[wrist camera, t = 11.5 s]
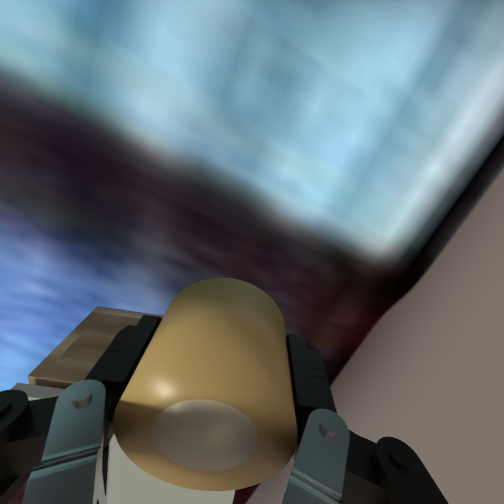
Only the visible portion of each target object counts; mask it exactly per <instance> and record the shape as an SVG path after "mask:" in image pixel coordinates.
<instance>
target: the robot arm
mask: <svg viewBox="0 0 504 504" xmlns="http://www.w3.org/2000/svg"><path fill="white" fill-rule="evenodd" d="M161 321H162V318H161V317H159V316H151V315H143V316H142V317H141V319H140V321H139V322H138V324H137V325H136V326H134V325H128V326H127V327H125V328H124V329H122V330H121V331H119V332H118V333H117V335H116V336H115V338H114V339H113V340H112V343H110V344H109V346H108V347H107V349H106V351H104V353H103V354H102V356H101V357H100V358H99V360H98V361H97V363H96V364H95V365H94V367H93V368H92V369H91V371H90V372H89V374H88V375H87V376H86V378H85V379H84V380H83V381H79V382H76V383H74V384H72V385H71V386H69V387H68V388H66V389H65V390H64V391H63V392H62V393H61V394H60V395H59V396H55V397H50V398H43V399H37V400H30V401H29V400H28V396H27V394H26V393H25V392H24V391H21V390H15V389H12V390H5V391H1V392H0V504H7V503H8V502H9V501H10V500H11V499H12V497H13V496H14V495H15V494H16V493H17V492H18V490H19V489H20V488H21V487H22V486H23V485H24V483H25V482H26V481H27V480H28V479H29V480H28V484H27V488H26V491H25V495H24V498H23V502H22V504H107V499H108V482H109V464H110V447H111V443H110V441H111V439H112V437H113V435H114V429H113V416H114V412H115V409H116V406H117V404H118V402H119V400H120V398H121V396H122V394H123V392H124V390H125V389H126V387H127V385H128V383H129V381H130V379H131V377H132V375H133V373H134V372H135V370H136V368H137V366H138V364H139V362H140V360H141V358H142V356H143V355H144V353H145V351H146V349H147V347H148V345H149V343H150V341H151V339H152V338H153V336H154V334H155V332H156V330H157V328H158V326H159V324H160V322H161ZM286 343H287V351H288V359H289V367H290V375H291V383H292V391H293V399H294V407H295V416H296V424H297V432H298V437H297V445H296V449H295V451H294V459H295V462H294V465H293V469H292V472H291V475H290V478H289V482H288V485H287V488H286V491H285V494H284V498H283V501H282V504H448V502H447V500H446V499H445V498H444V496H443V494H442V493H441V491H440V490H439V488H438V487H437V485H436V483H435V482H434V480H433V479H432V477H431V476H430V474H429V472H428V471H427V469H426V468H425V466H424V465H423V463H422V462H421V460H420V459H419V457H418V455H417V454H416V453H415V452H414V451H413V449H411V448H410V447H409V446H408V445H407V444H405V443H404V442H402V441H401V440H399V439H396V438H393V437H383V438H381V439H380V440H379V441H378V442H377V443H374V442H372V441H370V440H368V439H365V438H363V437H361V436H359V435H357V434H355V433H353V432H352V431H350V430H349V429H348V426H347V424H346V423H345V421H344V420H343V419H342V418H341V417H340V416H339V415H338V414H337V412H336V408H335V404H334V401H333V397H332V393H331V389H330V386H329V382H328V380H327V375H326V371H325V367H324V363H323V360H322V358H321V357H320V355H319V354H318V353H317V351H316V350H315V349H308V348H307V345H306V341H305V337H304V336H300V335H293V334H287V336H286Z"/></svg>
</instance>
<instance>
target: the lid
mask: <svg viewBox="0 0 504 504" xmlns="http://www.w3.org/2000/svg"><path fill="white" fill-rule="evenodd" d="M12 389H15V390H21V391H24V392H25V393H26V394H27V396H28V400H29V401H30V400H37V399H43V398H50V397H55V396H59V395H60V394H61V393H62V392H63V391H64V390H65V389H60V388H53V387H45V386H38V385H30V384H23V383H17V384H16V385H15V386H14V387H13V388H12ZM12 389H11V390H12ZM110 443H111V447H110V464H109V482H108V499H107V504H232V502H233V498H234V493H235V490H229V491H200V490H193V489H187V488H183V487H179V486H176V485H172V484H169V483H167V482H164V481H162V480H159V479H157V478H155V477H153V476H151V475H150V474H148V473H146V472H145V471H143V470H142V469H140V468H139V467H138V466H137V465H135V464H134V463H133V462H132V461H131V460H130V459H129V458H128V457H127V456H126V454H125V453H124V452H123V451H122V449H121V447H120V446H119V444H118V442H117V440H116V437H115V434H114V435H113V437H112V439H111V441H110Z"/></svg>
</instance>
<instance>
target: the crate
mask: <svg viewBox="0 0 504 504" xmlns="http://www.w3.org/2000/svg"><path fill="white" fill-rule="evenodd" d="M143 315H151V314H144V313H137V312H130V311H123V310H116V309H109V308H102V307H96V308H95V309H94V310H93V311H92V312H91V313H90V314H89V315H88V316H87V317H86V318H85V319H84V320H83V321H82V322H81V323H80V324H79V325H78V326H77V327H76V328H75V329H74V330H73V331H72V332H71V333H70V334H69V335H68V336H67V337H66V338H65V339H64V340H63V341H62V342H61V343H60V344H59V345H58V346H57V347H56V348H55V349H54V350H53V351H52V352H51V353H50V354H49V355H48V356H47V357H46V358H45V359H44V360H43V361H42V362H41V363H40V364H39V365H38V366H37V367H36V368H35V369H34V370H33V371H32V372H31V373H30V374H29V375H28V379H29V384H30V385H38V386H45V387H53V388H60V389H66V388H68V387H69V386H71V385H72V384H74V383H76V382H79V381H83V380H84V379H85V378H86V376H87V375H88V374H89V372H90V371H91V369H92V368H93V367H94V365H95V364H96V363H97V361H98V360H99V358H100V357H101V356H102V354H103V353H104V351H106V349H107V347H108V346H109V344H110V343H112V340H113V339H114V338H115V336H116V335H117V333H118V332H119V331H121V330H122V329H124V328H125V327H127V326H128V325H134V326H136V325H137V324H138V322H139V321H140V319H141V317H142V316H143ZM151 316H158V315H151ZM159 317H161V318H162V319H163V317H164V316H159Z"/></svg>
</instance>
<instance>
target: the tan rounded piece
mask: <svg viewBox="0 0 504 504" xmlns="http://www.w3.org/2000/svg"><path fill="white" fill-rule="evenodd" d="M113 429H114V434H115V437H116V440H117V442H118V444H119V446H120V447H121V449H122V451H123V452H124V453H125V454H126V456H127V457H128V458H129V459H130V460H131V461H132V462H133V463H134V464H135V465H137V466H138V467H139V468H140V469H142V470H143V471H145V472H146V473H148V474H150V475H151V476H153V477H155V478H157V479H159V480H162V481H164V482H167V483H169V484H172V485H176V486H179V487H183V488H187V489H193V490H200V491H229V490H236V489H242V488H246V487H250V486H253V485H256V484H258V483H261V482H263V481H265V480H267V479H269V478H270V477H272V476H274V475H275V474H276V473H278V472H279V471H280V470H281V469H283V468H284V466H285V465H286V464H287V463H288V462H289V460H290V459H291V457H292V455H293V454H294V451H295V449H296V445H297V437H298V432H297V424H296V416H295V407H294V399H293V391H292V383H291V375H290V367H289V359H288V351H287V343H286V335H285V327H284V321H283V317H282V314H281V312H280V310H279V308H278V306H277V305H276V304H275V302H274V301H273V300H272V299H271V298H270V297H269V296H268V295H267V294H266V293H265V292H263V291H262V290H260V289H259V288H257V287H255V286H253V285H251V284H249V283H246V282H243V281H240V280H236V279H229V278H213V279H207V280H203V281H199V282H197V283H194V284H192V285H190V286H188V287H187V288H185V289H184V290H182V291H181V292H180V293H179V294H178V295H177V296H176V297H175V298H174V299H173V301H172V302H171V304H170V305H169V307H168V309H167V311H166V313H165V315H164V317H163V319H162V321H161V322H160V324H159V326H158V328H157V330H156V332H155V334H154V336H153V338H152V339H151V341H150V343H149V345H148V347H147V349H146V351H145V353H144V355H143V356H142V358H141V360H140V362H139V364H138V366H137V368H136V370H135V372H134V373H133V375H132V377H131V379H130V381H129V383H128V385H127V387H126V389H125V390H124V392H123V394H122V396H121V398H120V400H119V402H118V404H117V406H116V409H115V412H114V416H113Z"/></svg>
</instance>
